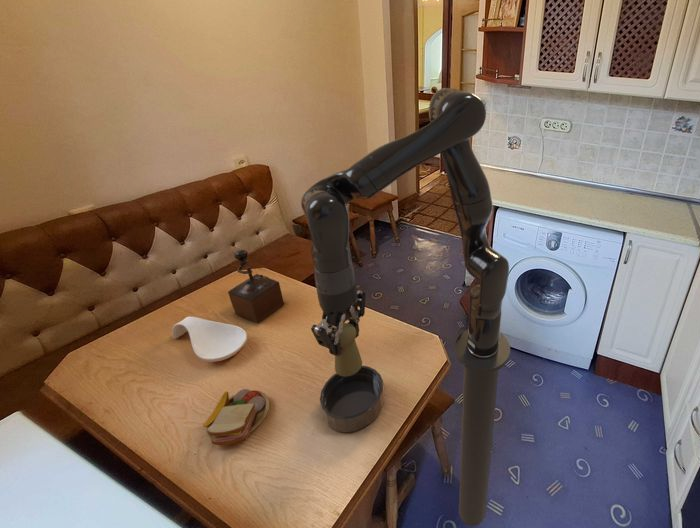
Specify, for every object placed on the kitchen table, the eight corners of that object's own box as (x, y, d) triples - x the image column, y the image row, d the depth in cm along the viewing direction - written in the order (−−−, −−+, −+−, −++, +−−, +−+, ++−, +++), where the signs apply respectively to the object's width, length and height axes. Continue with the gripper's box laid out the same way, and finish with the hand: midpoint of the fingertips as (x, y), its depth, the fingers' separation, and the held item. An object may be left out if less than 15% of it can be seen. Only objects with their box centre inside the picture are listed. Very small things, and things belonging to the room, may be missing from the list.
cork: (363, 372, 80) (358, 335, 75) (335, 379, 78) (328, 342, 73) (361, 352, 85) (356, 316, 80) (334, 358, 83) (328, 322, 78)
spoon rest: (258, 342, 102) (253, 323, 100) (220, 374, 92) (213, 354, 89) (199, 321, 109) (193, 302, 107) (158, 349, 99) (149, 329, 96)
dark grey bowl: (350, 371, 94) (348, 357, 92) (395, 391, 89) (394, 377, 87) (309, 418, 82) (306, 403, 80) (358, 444, 77) (356, 429, 75)
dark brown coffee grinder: (287, 303, 118) (276, 257, 111) (257, 324, 109) (244, 276, 101) (253, 290, 123) (241, 246, 116) (223, 310, 114) (207, 263, 107)
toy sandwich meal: (280, 393, 88) (276, 380, 86) (250, 450, 76) (245, 436, 74) (229, 393, 88) (224, 379, 86) (190, 449, 75) (184, 435, 73)
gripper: (323, 309, 64) (335, 375, 71) (373, 268, 76) (379, 328, 83) (293, 297, 67) (307, 362, 74) (345, 259, 79) (353, 318, 86)
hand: (345, 344), depth 78 cm, fingers closed on cork, 5 cm apart
